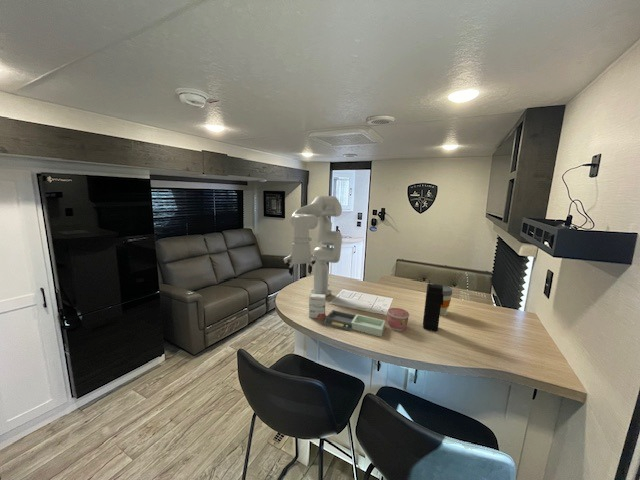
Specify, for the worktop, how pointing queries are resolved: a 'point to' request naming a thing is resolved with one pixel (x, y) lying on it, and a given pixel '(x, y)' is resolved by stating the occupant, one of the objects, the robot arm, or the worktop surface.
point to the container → (397, 318)
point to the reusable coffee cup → (445, 298)
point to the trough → (368, 325)
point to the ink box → (317, 305)
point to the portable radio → (432, 306)
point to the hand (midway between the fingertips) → (300, 274)
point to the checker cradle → (339, 320)
